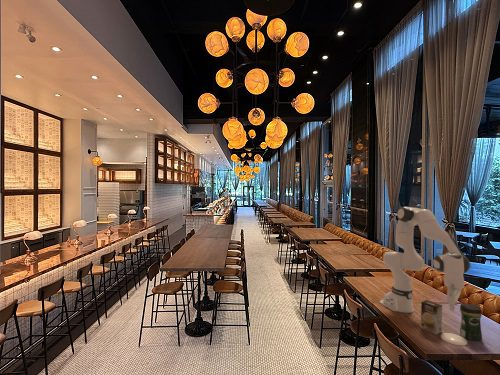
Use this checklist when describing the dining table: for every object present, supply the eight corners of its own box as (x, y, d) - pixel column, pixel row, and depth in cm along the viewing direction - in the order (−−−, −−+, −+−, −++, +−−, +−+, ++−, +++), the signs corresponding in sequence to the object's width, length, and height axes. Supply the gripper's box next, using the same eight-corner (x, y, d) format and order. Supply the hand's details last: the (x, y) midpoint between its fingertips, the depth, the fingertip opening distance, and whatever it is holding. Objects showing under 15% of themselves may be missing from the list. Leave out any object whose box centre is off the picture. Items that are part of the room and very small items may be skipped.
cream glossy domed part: (435, 337, 162) (435, 335, 162) (449, 332, 167) (449, 331, 167) (458, 348, 152) (458, 346, 152) (472, 343, 156) (472, 341, 156)
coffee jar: (476, 334, 166) (476, 302, 166) (484, 342, 158) (484, 308, 158) (457, 333, 168) (457, 301, 167) (464, 340, 160) (464, 306, 160)
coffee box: (420, 328, 173) (420, 301, 173) (425, 325, 176) (426, 299, 176) (436, 335, 165) (436, 307, 165) (442, 332, 168) (442, 304, 168)
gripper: (457, 289, 150) (457, 315, 150) (463, 279, 164) (463, 303, 165) (443, 286, 154) (443, 311, 154) (450, 276, 169) (450, 300, 169)
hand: (453, 307), depth 160 cm, fingers open, 8 cm apart
